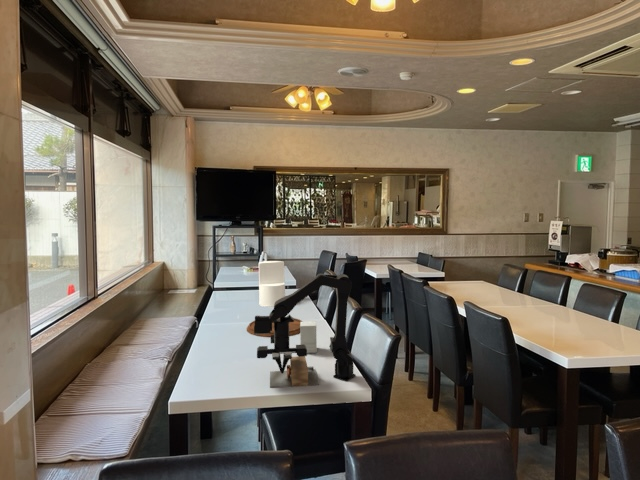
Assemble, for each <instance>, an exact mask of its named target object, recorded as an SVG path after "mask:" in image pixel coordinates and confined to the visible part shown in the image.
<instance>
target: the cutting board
mask: <svg viewBox="0 0 640 480" xmlns="http://www.w3.org/2000/svg"><path fill="white" fill-rule="evenodd" d="M293 318H294V322H289V337H291V336H296V335H300V322H304V321H303V320H300V319H299V318H296V317H293ZM278 319H280V318H278ZM254 325H255V320H253V321H251V322H250V323H249V324H248V325H247V327H246V332H247V333H248V334H250V335H252V336H256V337H262V338H271V335H274V323H272V331H271V332H269V334H254Z"/></svg>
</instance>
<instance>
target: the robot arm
mask: <svg viewBox="0 0 640 480" xmlns="http://www.w3.org/2000/svg"><path fill="white" fill-rule="evenodd" d="M322 286H324V287H329V288H332V289H335V293H336V308H335V309H336V310H335V311H336V313H335V331H334V335H333V336H330V337H329V339H330V344H329V349H330V352H331V353H332V355H333V358H334V359H335V363H334V375H333V378H335V379H338V380H341V381H345V382H348V381H349V380H351V379H353V378H355V377H356V374H355V373H354V358H353V356H352V353H351V351H350V350H349V349H348V343H347V342H348V341H347V336H346V332H347V331H346V330H347V315H348V300H349V297H350V294H351V290H352V287H353V283H352V280H351V279H350V277H349V276H348V275H347V274H343V273H340V274H338V275H335V274H324V273H318V274H317V275H316V276H315V277H314V278H312V279H311V280H309V281H308V282H306V283H305V284H303V285H302V286H301V287H299V288H298V289H296V290H295V291H294V292H293V293H290V294H288V295H285V297H283V298H281V299H279V300H277V301H276V302H275V304H274V307H273V309H272V311H270V313H269V315H255V316H254V321H255V325H254V334H269V332H271V331H272V323H274V335H271V337H270V344H273V345H274V346H273V347H274V348H268V345H261V346H260V345H259V346H258V347H257V348H256V358H257V359H266V358H267V357H268V355H271V356H272V357H271V359H272V360H273V361H275V362H276V364H277V365H278V369H279V371H281V373H284V371H286V370H285V369H286V368H287V365H288V362H289V361H290V359H292V357H293V356H292V355H293V354H296V356H297V357H299V356H305V357H307V356H308V353H307V348H306V346H305V345H301V344H295V347H290V336H289V322H294V318H295V317H293V316H291V314H290V313H291V312H292V311H293V309H294V308H295V307H296V306H297V305H298V304H299V303H300V302H301V301H303V300H304V299H306V298H307V297H308V296H310V295H312V293H314V292H315V291H317V290H318V289H320V288H321V287H322ZM278 318H280V319H278ZM281 354H283V357H281ZM282 358H283V359H282ZM281 359H282V360H281Z"/></svg>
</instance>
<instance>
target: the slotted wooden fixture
mask: <svg viewBox="0 0 640 480" xmlns="http://www.w3.org/2000/svg"><path fill="white" fill-rule="evenodd" d="M289 365H290V368H291V375H290V377H289V378H287V370H284V373H281V371H280V370H275V371H274V370H272V371H269V388H270V389H271V388H286V387H287V388H289V387H291V388H292V387H307V386H319V385H320V382H319V379H318V375H317V372H316V368H314V374H308V367H309V366H308V363H307V359H306V356H292V359H289Z"/></svg>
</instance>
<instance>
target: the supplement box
mask: <svg viewBox="0 0 640 480" xmlns="http://www.w3.org/2000/svg"><path fill="white" fill-rule="evenodd" d="M316 323H317V321H303V322H300V333H299V335H300V337H299V341H300V345H305V346H306V348H307V354H313V353H314V354H316V353H317V352H318V351H317V324H316Z"/></svg>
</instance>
